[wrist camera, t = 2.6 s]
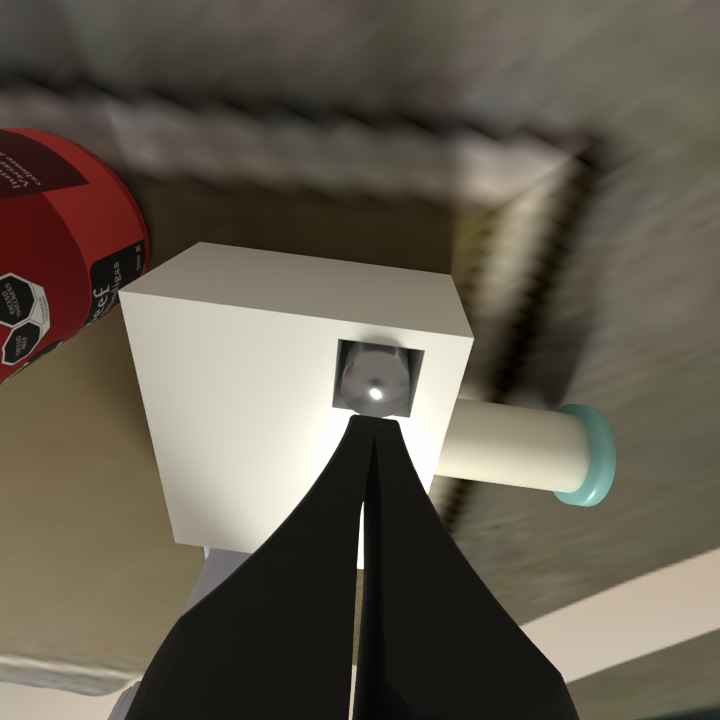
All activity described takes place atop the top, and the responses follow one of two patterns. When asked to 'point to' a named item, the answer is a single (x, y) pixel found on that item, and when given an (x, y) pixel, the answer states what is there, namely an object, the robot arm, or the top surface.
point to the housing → (277, 376)
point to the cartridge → (531, 449)
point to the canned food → (60, 244)
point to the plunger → (375, 379)
